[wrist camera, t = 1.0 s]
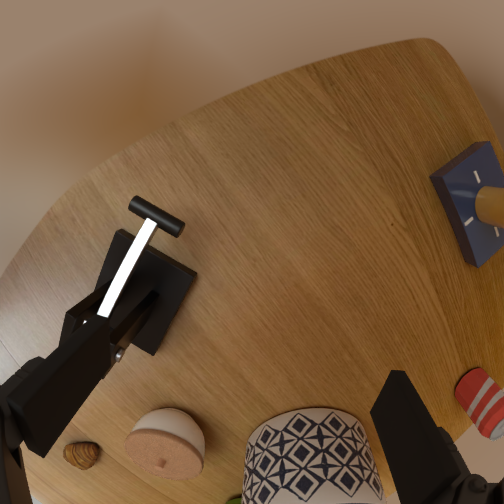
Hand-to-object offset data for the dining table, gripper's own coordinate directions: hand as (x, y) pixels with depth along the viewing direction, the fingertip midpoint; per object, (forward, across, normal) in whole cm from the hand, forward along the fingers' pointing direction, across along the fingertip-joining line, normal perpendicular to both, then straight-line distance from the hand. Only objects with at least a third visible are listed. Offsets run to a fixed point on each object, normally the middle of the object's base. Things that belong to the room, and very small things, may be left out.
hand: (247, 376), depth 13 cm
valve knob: (+17, +24, +12) cm, 32 cm away
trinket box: (+20, -7, -27) cm, 35 cm away
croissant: (+20, -26, -46) cm, 57 cm away
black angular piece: (+20, -13, -7) cm, 25 cm away
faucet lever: (+12, -11, -3) cm, 17 cm away
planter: (+20, +13, -28) cm, 37 cm away
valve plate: (+20, +24, +12) cm, 34 cm away
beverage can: (+20, +37, -14) cm, 44 cm away
